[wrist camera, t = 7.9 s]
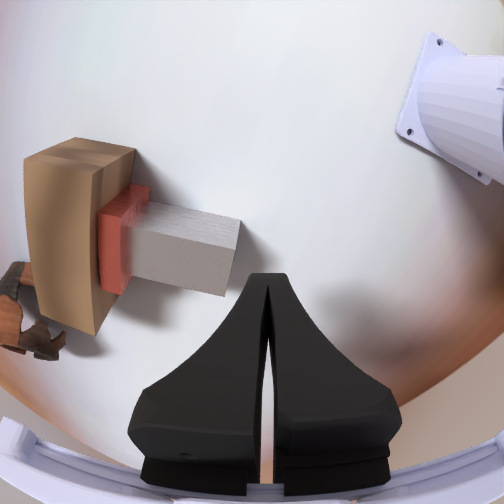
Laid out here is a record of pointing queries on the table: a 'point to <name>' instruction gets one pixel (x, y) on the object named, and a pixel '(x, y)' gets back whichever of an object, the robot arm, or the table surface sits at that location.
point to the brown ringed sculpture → (10, 318)
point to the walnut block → (72, 226)
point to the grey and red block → (163, 244)
